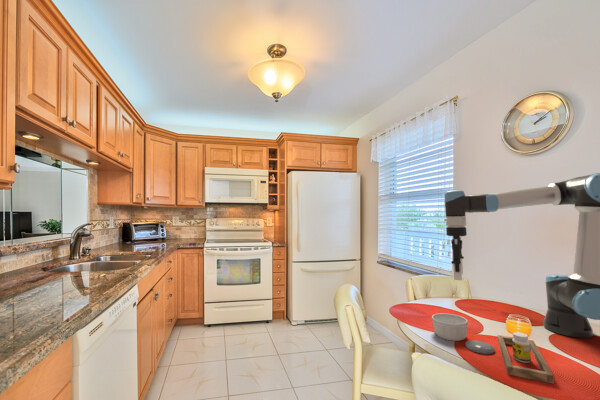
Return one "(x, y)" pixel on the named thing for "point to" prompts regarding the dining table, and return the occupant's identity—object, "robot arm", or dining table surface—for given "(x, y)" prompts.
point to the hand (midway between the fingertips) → (458, 276)
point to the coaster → (480, 347)
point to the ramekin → (450, 326)
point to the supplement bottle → (521, 347)
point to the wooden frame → (542, 375)
